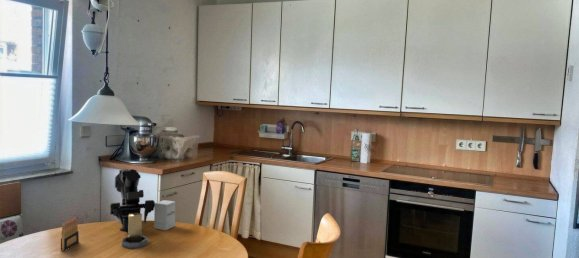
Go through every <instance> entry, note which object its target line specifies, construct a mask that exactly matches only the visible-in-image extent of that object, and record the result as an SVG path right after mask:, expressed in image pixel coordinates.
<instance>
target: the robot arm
mask: <svg viewBox="0 0 579 258" xmlns="http://www.w3.org/2000/svg"><path fill="white" fill-rule="evenodd" d="M118 170H119V169H118ZM140 179H141V174H140V173H139V172H138V171H137V169H135V168H132V169H131V168H130V169H129V168H128V169H125V168H124V169H120V170H119V172H118V174H117V175H116V176H115V178H114V189H116V191H117V192H118V193H120V195H121V199H122V200H121V203H120V202H111V203H110V205H109V215H113V216H114V217H116V218H117V219H118V221H119V222H120V224H121V226H122V227H120V228H119V231H122V232H127V233H128V215H129V214H131V213H141V210H142V209H144V210H143V211H144V212H143V222H144V224H146V222H147V217H148V216H149V213H151V212H153V211H154V206H155V203H156V202H155V200H154V199H148V200H147V199H146V200H144V203H140V199H142V198H144V190H143V189H138V186H139V181H140Z"/></svg>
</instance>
